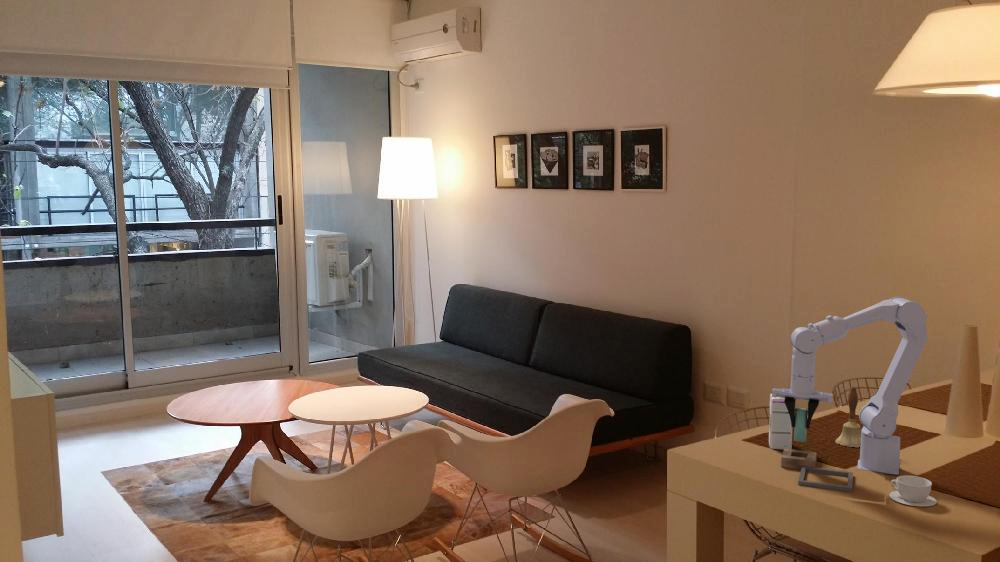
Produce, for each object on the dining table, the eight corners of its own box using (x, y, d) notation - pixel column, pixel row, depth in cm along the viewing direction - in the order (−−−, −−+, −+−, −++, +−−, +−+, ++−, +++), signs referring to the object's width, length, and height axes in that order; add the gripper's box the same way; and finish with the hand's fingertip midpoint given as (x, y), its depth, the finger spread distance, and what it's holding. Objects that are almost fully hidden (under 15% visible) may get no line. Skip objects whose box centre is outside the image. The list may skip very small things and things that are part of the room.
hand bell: (829, 443, 247) (832, 387, 246) (844, 437, 253) (847, 382, 251) (858, 450, 241) (861, 392, 239) (872, 444, 247) (875, 388, 245)
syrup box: (792, 451, 240) (794, 399, 238) (769, 450, 241) (771, 398, 239) (789, 445, 245) (792, 394, 243) (767, 444, 246) (769, 392, 245)
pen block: (816, 463, 230) (816, 452, 230) (814, 472, 223) (814, 461, 222) (783, 459, 233) (784, 448, 233) (781, 468, 226) (781, 457, 225)
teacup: (942, 500, 205) (943, 480, 205) (928, 512, 198) (930, 491, 197) (897, 489, 212) (898, 470, 211) (882, 500, 205) (883, 481, 204)
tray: (852, 477, 219) (853, 472, 219) (851, 493, 208) (852, 488, 208) (801, 471, 224) (801, 465, 224) (798, 486, 213) (798, 481, 213)
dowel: (806, 439, 228) (808, 408, 227) (805, 442, 225) (807, 411, 224) (794, 437, 229) (795, 407, 228) (793, 440, 226) (794, 410, 225)
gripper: (834, 374, 226) (831, 426, 228) (774, 369, 231) (772, 419, 233) (833, 380, 219) (830, 433, 221) (772, 374, 225) (769, 426, 227)
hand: (800, 427), depth 227 cm, fingers closed on dowel, 3 cm apart
